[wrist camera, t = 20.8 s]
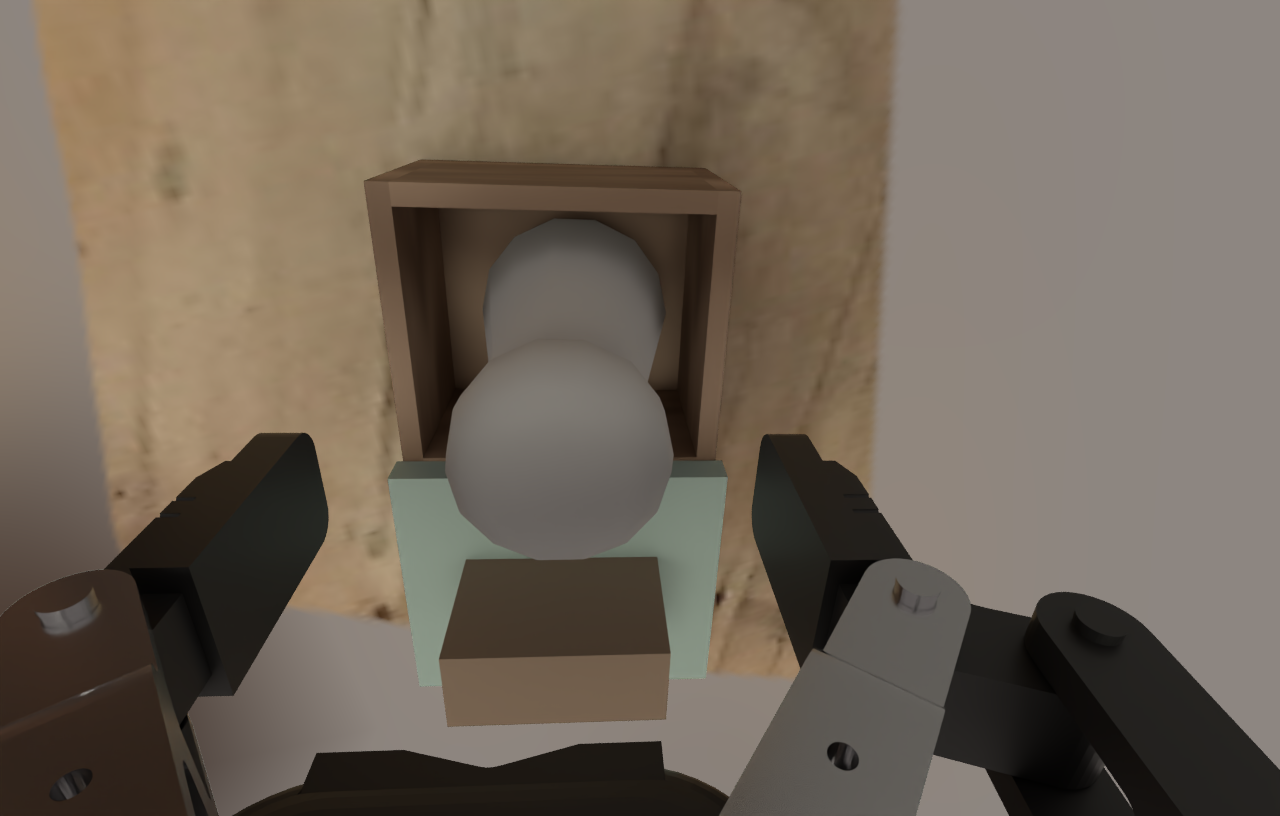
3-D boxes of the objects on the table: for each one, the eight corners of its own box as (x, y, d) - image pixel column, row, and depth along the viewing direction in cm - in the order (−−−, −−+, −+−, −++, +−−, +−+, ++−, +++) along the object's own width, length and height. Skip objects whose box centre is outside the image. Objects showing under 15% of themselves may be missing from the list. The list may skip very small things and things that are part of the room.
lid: (396, 461, 20) (339, 569, 15) (721, 460, 21) (758, 563, 16) (426, 663, 23) (387, 798, 19) (701, 656, 24) (726, 784, 20)
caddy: (420, 159, 22) (363, 181, 16) (705, 168, 22) (741, 191, 17) (461, 558, 29) (432, 665, 23) (676, 555, 30) (695, 658, 24)
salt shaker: (687, 256, 23) (786, 423, 11) (613, 389, 25) (631, 650, 13) (533, 174, 21) (462, 269, 10) (468, 323, 23) (344, 551, 12)
